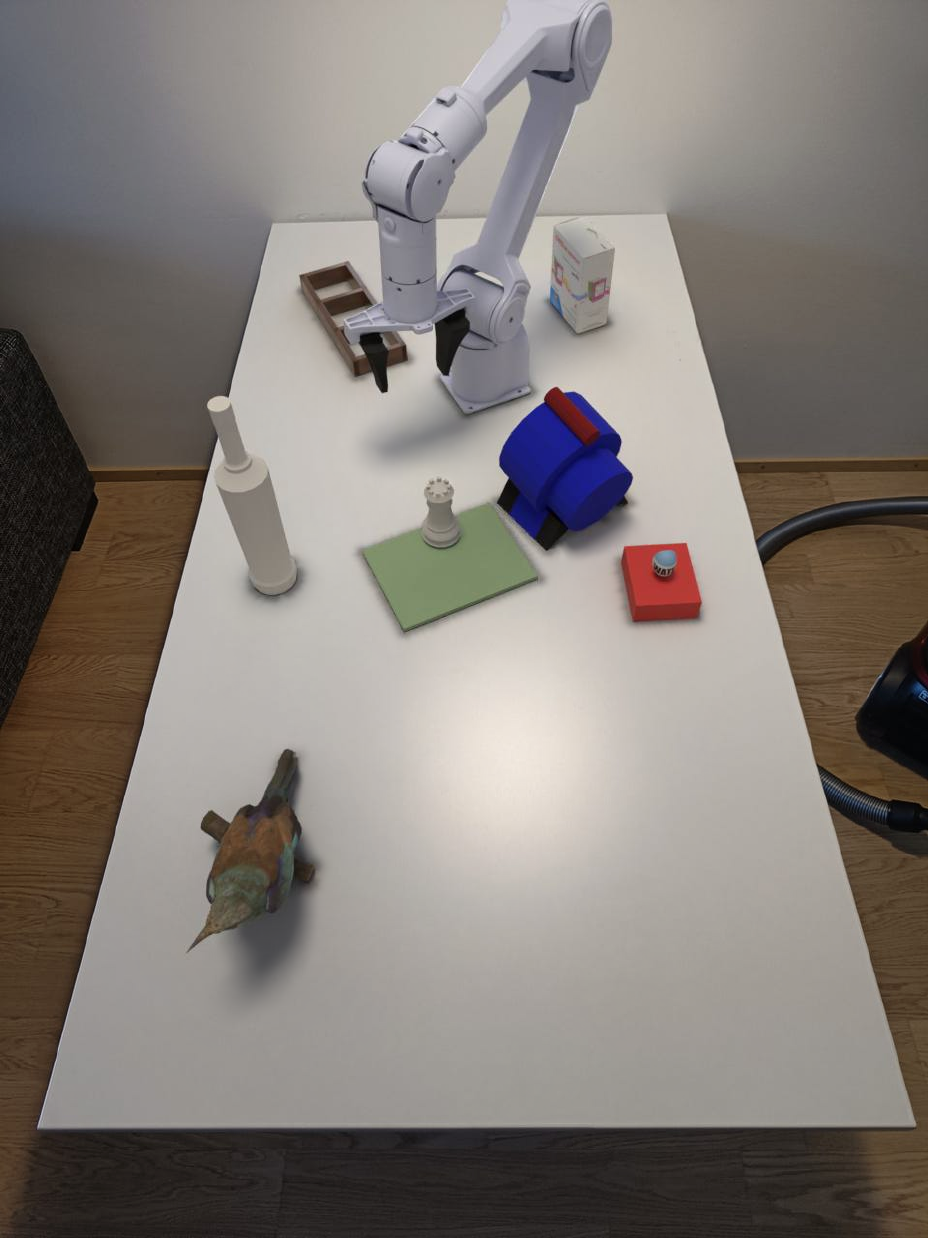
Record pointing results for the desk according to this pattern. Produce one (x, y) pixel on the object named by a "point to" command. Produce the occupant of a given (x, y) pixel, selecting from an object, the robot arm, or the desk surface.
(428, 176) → the robot arm
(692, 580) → the red rectangular block
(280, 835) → the bird figurine
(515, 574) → the mat
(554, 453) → the electric motor
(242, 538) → the bottle
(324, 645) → the desk surface
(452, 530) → the rook chess piece
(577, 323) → the ink box
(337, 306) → the rack
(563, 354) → the desk surface
